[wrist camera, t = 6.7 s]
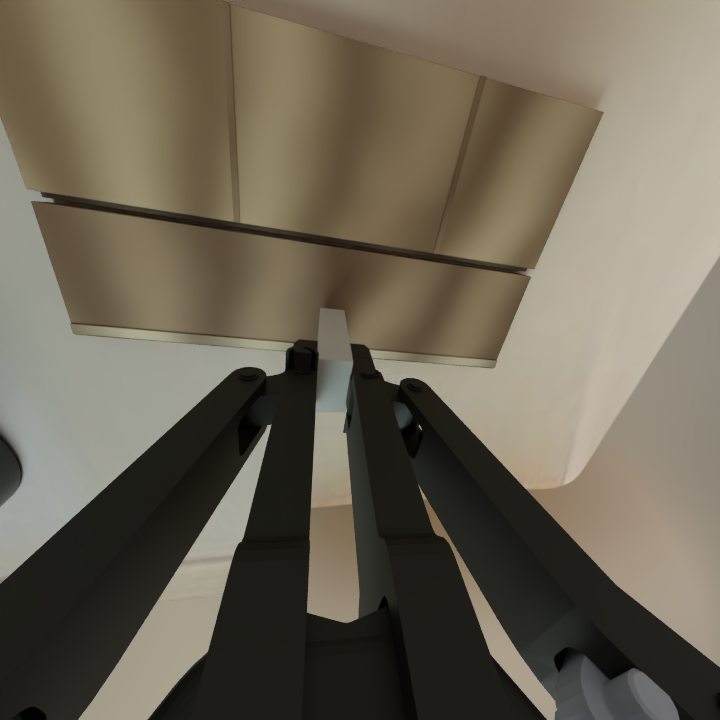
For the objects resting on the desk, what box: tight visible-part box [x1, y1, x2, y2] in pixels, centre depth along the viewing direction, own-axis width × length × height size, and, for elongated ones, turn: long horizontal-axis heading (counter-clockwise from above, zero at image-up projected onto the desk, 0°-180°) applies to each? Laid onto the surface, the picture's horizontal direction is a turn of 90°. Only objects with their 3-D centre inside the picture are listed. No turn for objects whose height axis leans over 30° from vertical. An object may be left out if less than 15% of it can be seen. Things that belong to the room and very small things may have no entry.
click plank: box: [31, 201, 531, 368], centre depth 18 cm, size 28×7×1 cm, turn 81°
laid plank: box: [0, 0, 604, 271], centre depth 14 cm, size 28×8×1 cm, turn 81°
